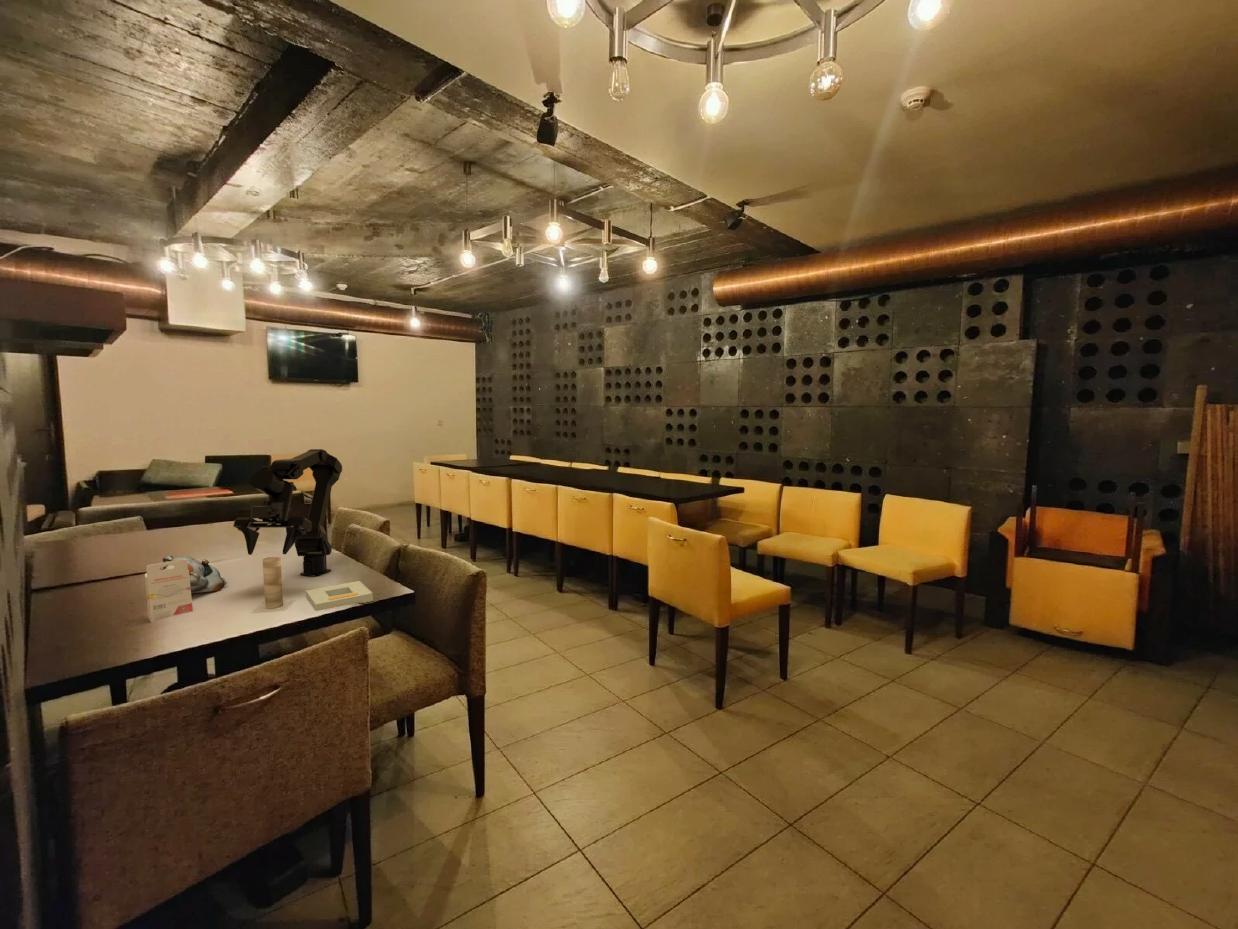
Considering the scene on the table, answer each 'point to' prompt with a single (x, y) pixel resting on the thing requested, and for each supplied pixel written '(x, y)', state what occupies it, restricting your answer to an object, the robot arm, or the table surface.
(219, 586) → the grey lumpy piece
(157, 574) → the ink cartridge box
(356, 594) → the socket block
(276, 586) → the birch peg
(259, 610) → the tab
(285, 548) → the robot arm
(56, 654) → the table surface
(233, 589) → the table surface
